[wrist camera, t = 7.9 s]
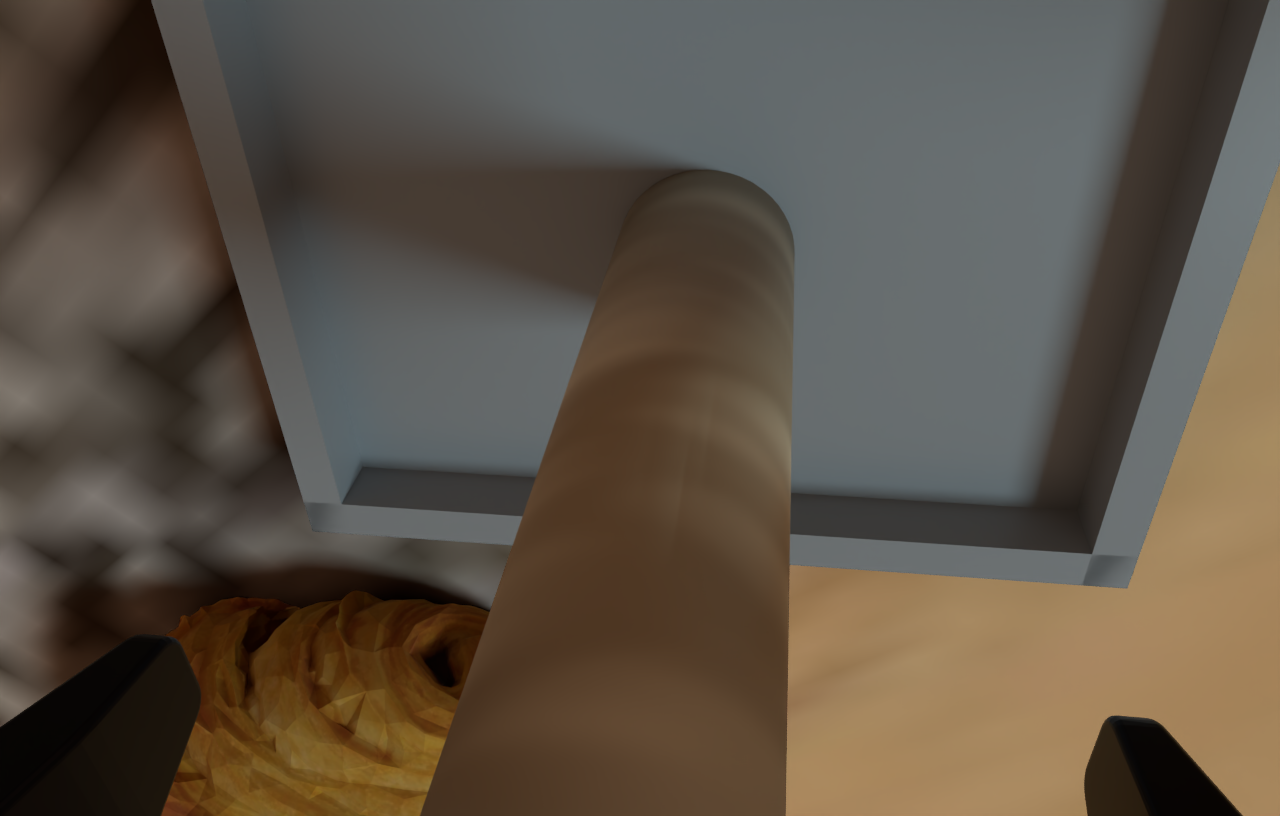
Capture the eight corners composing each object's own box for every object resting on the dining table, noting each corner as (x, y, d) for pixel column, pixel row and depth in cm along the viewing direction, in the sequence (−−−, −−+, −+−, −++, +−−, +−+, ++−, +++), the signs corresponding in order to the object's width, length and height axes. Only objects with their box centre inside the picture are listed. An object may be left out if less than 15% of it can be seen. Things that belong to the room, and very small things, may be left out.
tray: (1311, -167, 13) (1390, -146, 11) (1098, 510, 20) (1127, 588, 18) (194, -142, 15) (114, -122, 13) (351, 464, 22) (312, 531, 20)
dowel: (799, 171, 16) (794, 774, 7) (789, 332, 18) (775, 978, 9) (615, 167, 16) (386, 735, 7) (622, 325, 18) (446, 937, 9)
